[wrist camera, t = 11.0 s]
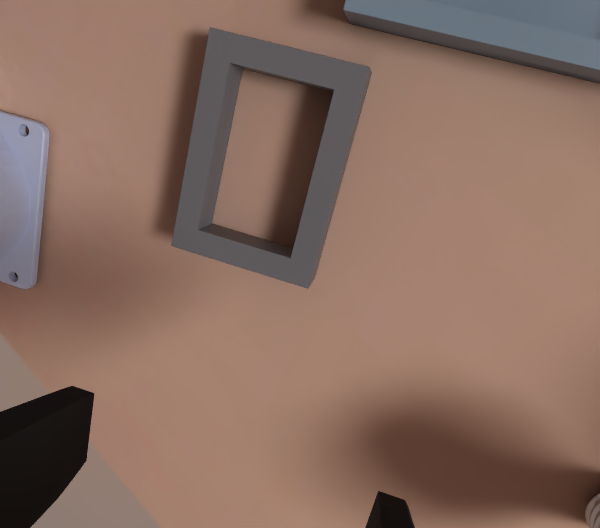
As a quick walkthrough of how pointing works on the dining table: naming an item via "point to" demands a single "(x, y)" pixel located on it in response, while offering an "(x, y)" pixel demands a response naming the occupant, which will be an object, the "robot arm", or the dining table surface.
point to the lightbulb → (593, 512)
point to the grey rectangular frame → (213, 143)
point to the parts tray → (497, 29)
